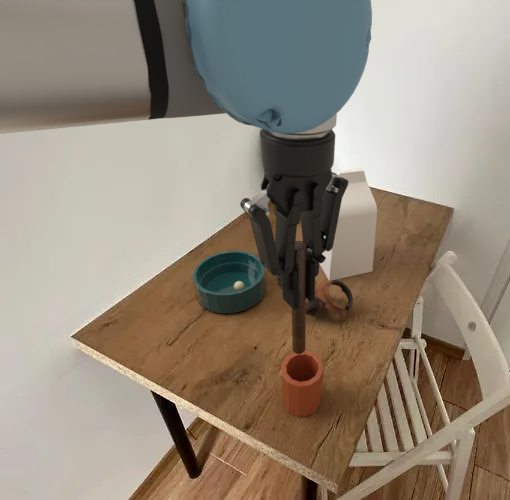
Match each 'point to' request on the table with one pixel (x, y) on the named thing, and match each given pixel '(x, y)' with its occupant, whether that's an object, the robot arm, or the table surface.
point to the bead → (239, 286)
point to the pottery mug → (329, 300)
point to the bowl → (229, 281)
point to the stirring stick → (300, 300)
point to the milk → (353, 230)
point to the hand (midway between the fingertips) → (298, 298)
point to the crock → (302, 383)
